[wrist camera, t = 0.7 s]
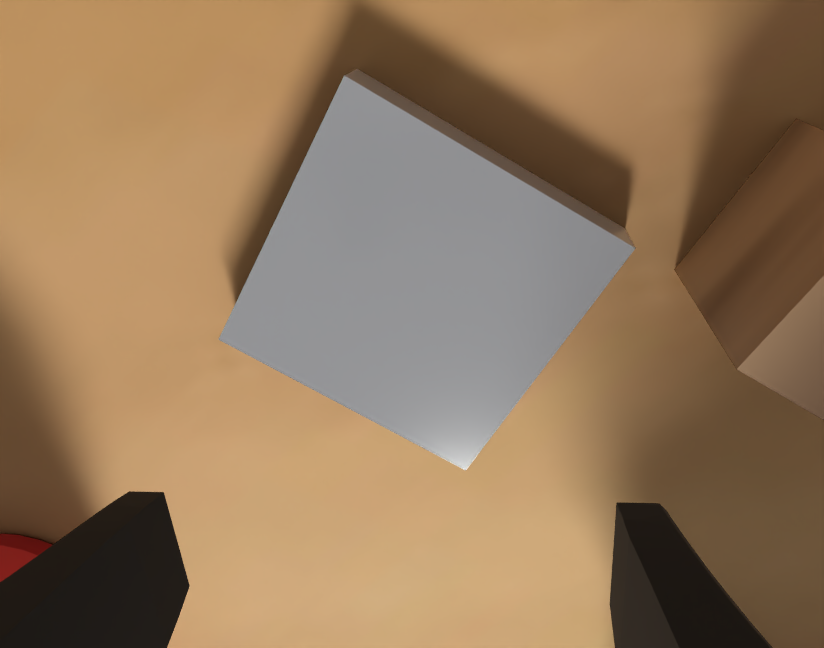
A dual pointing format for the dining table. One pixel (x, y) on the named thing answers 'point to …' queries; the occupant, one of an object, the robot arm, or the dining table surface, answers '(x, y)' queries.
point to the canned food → (18, 552)
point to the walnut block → (770, 271)
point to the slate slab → (420, 273)
